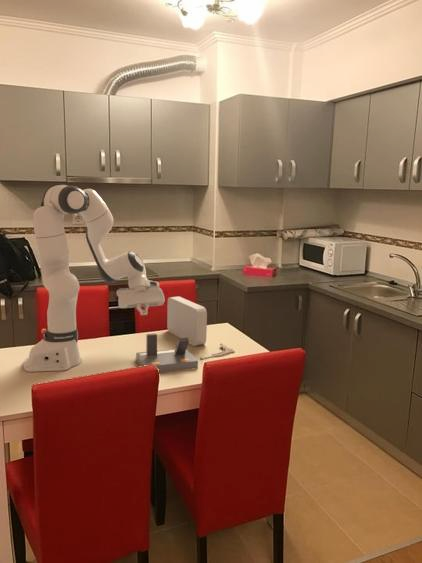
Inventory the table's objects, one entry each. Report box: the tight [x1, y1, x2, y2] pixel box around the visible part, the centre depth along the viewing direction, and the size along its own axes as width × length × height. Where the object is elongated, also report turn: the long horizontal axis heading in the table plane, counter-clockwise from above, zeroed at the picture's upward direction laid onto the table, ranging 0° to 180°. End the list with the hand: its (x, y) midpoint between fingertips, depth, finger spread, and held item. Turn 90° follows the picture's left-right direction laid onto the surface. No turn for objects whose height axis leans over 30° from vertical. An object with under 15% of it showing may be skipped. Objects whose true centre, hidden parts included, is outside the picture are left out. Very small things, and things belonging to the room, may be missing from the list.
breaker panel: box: [135, 348, 199, 374], centre depth 191 cm, size 22×16×3 cm
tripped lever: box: [145, 333, 158, 358], centre depth 189 cm, size 5×2×10 cm, turn 111°
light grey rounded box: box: [166, 296, 208, 347], centre depth 224 cm, size 29×8×18 cm, turn 33°
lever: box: [174, 337, 189, 355], centre depth 191 cm, size 5×2×10 cm
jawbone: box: [199, 343, 236, 361], centre depth 204 cm, size 9×20×2 cm, turn 152°
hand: (144, 314), depth 200 cm, fingers closed
